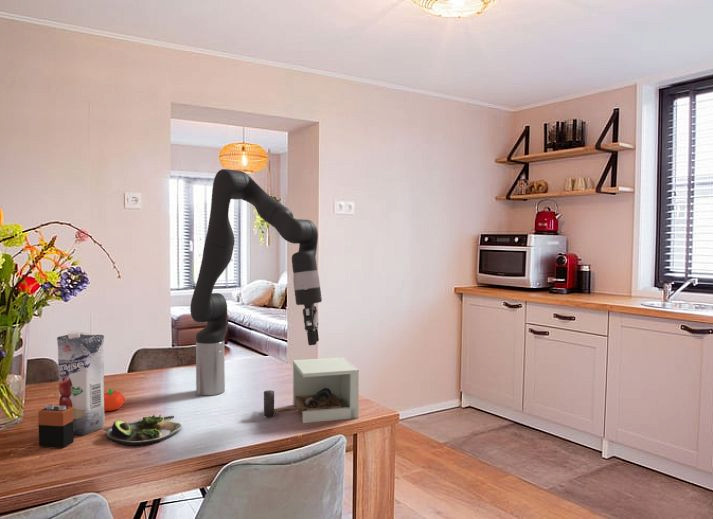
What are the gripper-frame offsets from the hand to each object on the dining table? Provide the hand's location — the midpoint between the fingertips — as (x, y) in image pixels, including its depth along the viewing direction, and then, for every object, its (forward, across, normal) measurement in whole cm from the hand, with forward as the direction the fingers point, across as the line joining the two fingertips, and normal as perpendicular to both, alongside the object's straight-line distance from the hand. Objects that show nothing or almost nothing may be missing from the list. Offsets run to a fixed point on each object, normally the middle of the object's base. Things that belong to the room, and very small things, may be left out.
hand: (313, 343), depth 156 cm
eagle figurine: (+21, -8, -2) cm, 23 cm away
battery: (+15, +20, -65) cm, 70 cm away
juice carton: (+15, +9, -64) cm, 66 cm away
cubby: (+21, -8, -1) cm, 23 cm away
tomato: (+13, -8, -64) cm, 66 cm away
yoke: (+20, -6, -7) cm, 22 cm away
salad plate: (+18, +12, -47) cm, 51 cm away
